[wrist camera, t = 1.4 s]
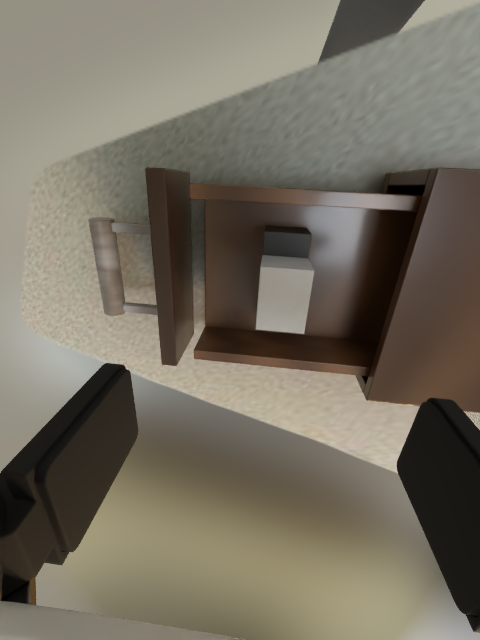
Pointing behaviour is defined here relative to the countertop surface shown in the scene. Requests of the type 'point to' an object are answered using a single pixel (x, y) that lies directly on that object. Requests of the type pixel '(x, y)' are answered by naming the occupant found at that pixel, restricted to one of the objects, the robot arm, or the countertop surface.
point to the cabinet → (434, 297)
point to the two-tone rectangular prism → (284, 280)
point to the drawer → (244, 270)
